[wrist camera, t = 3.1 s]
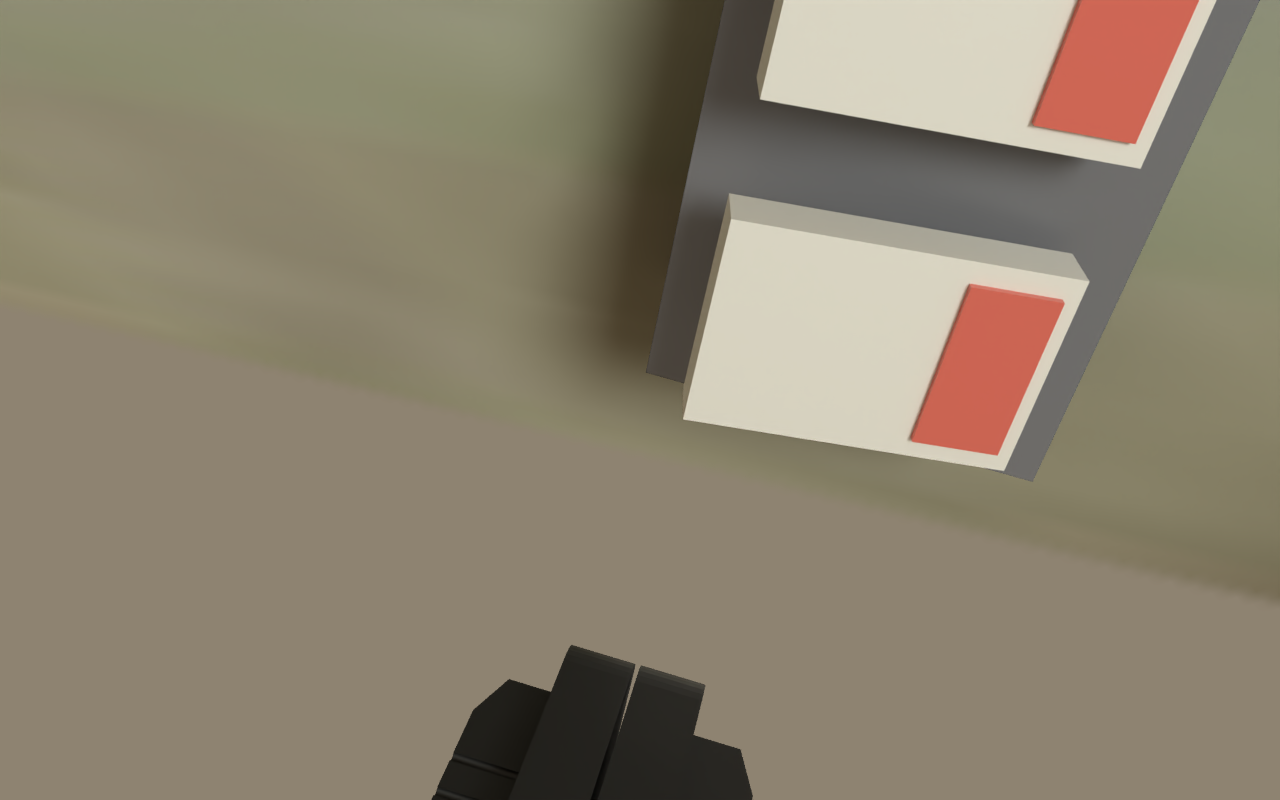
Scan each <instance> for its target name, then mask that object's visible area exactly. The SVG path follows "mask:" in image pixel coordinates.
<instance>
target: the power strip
mask: <svg viewBox="0 0 1280 800" xmlns="http://www.w3.org/2000/svg"><path fill="white" fill-rule="evenodd" d="M774 1H775V0H725V1H724V6H723V11H722V15H721V20H720V25H719V30H718V34H717V39H716V44H715V49H714V53H713V58H712V63H711V67H710V72H709V77H708V82H707V86H706V91H705V96H704V100H703V105H702V110H701V115H700V119H699V124H698V129H697V134H696V138H695V143H694V148H693V152H692V157H691V162H690V167H689V171H688V176H687V181H686V185H685V190H684V195H683V200H682V204H681V209H680V214H679V219H678V223H677V228H676V233H675V237H674V242H673V247H672V252H671V256H670V261H669V266H668V270H667V275H666V280H665V285H664V289H663V294H662V299H661V304H660V308H659V313H658V318H657V322H656V327H655V332H654V337H653V341H652V346H651V351H650V355H649V360H648V365H647V370H646V373H650V374H653V375H657V376H660V377H664V378H667V379H671V380H674V381H678V382H681V383H684V382H685V378H686V374H687V369H688V365H689V361H690V357H691V352H692V348H693V344H694V340H695V336H696V331H697V327H698V323H699V319H700V314H701V310H702V306H703V302H704V297H705V293H706V289H707V285H708V280H709V276H710V272H711V268H712V263H713V259H714V255H715V251H716V247H717V242H718V238H719V234H720V230H721V225H722V221H723V217H724V213H725V208H726V204H727V200H728V196H729V193H730V194H736V195H742V196H748V197H753V198H759V199H765V200H770V201H776V202H782V203H787V204H793V205H799V206H804V207H810V208H816V209H821V210H827V211H833V212H838V213H844V214H850V215H855V216H861V217H867V218H873V219H878V220H884V221H890V222H895V223H901V224H907V225H912V226H918V227H924V228H929V229H935V230H941V231H946V232H952V233H958V234H963V235H969V236H975V237H980V238H986V239H992V240H998V241H1003V242H1009V243H1015V244H1020V245H1026V246H1032V247H1037V248H1043V249H1049V250H1054V251H1060V252H1066V253H1071V254H1073V255H1074V257H1075V259H1076V260H1077V262H1078V264H1079V265H1080V267H1081V268H1082V270H1083V272H1084V273H1085V275H1086V277H1087V278H1088V280H1089V281H1090V282H1089V284H1088V286H1087V288H1086V291H1085V293H1084V295H1083V297H1082V300H1081V302H1080V304H1079V306H1078V308H1077V311H1076V313H1075V315H1074V317H1073V319H1072V322H1071V324H1070V326H1069V328H1068V331H1067V333H1066V335H1065V337H1064V339H1063V342H1062V344H1061V346H1060V348H1059V351H1058V353H1057V355H1056V357H1055V359H1054V362H1053V364H1052V366H1051V368H1050V370H1049V373H1048V375H1047V377H1046V379H1045V382H1044V384H1043V386H1042V388H1041V390H1040V393H1039V395H1038V397H1037V399H1036V401H1035V404H1034V406H1033V408H1032V410H1031V413H1030V415H1029V417H1028V419H1027V421H1026V424H1025V426H1024V428H1023V430H1022V433H1021V435H1020V437H1019V439H1018V441H1017V444H1016V446H1015V448H1014V450H1013V452H1012V455H1011V457H1010V459H1009V461H1008V464H1007V466H1006V468H1005V470H1004V471H1001V470H995V469H989V470H993V471H996V472H1000V473H1003V474H1007V475H1010V476H1014V477H1018V478H1021V479H1025V480H1028V481H1032V482H1033V480H1034V477H1035V475H1036V473H1037V471H1038V469H1039V467H1040V465H1041V463H1042V460H1043V458H1044V456H1045V454H1046V452H1047V450H1048V448H1049V446H1050V444H1051V441H1052V439H1053V437H1054V435H1055V433H1056V431H1057V429H1058V427H1059V424H1060V422H1061V420H1062V418H1063V416H1064V414H1065V412H1066V410H1067V408H1068V405H1069V403H1070V401H1071V399H1072V397H1073V395H1074V393H1075V391H1076V388H1077V386H1078V384H1079V382H1080V380H1081V378H1082V376H1083V374H1084V372H1085V369H1086V367H1087V365H1088V363H1089V361H1090V359H1091V357H1092V355H1093V352H1094V350H1095V348H1096V346H1097V344H1098V342H1099V340H1100V338H1101V336H1102V333H1103V331H1104V329H1105V327H1106V325H1107V323H1108V321H1109V319H1110V316H1111V314H1112V312H1113V310H1114V308H1115V306H1116V304H1117V302H1118V300H1119V297H1120V295H1121V293H1122V291H1123V289H1124V287H1125V285H1126V283H1127V280H1128V278H1129V276H1130V274H1131V272H1132V270H1133V268H1134V266H1135V264H1136V261H1137V259H1138V257H1139V255H1140V253H1141V251H1142V249H1143V247H1144V244H1145V242H1146V240H1147V238H1148V236H1149V234H1150V232H1151V230H1152V228H1153V225H1154V223H1155V221H1156V219H1157V217H1158V215H1159V213H1160V211H1161V209H1162V206H1163V204H1164V202H1165V200H1166V198H1167V196H1168V194H1169V192H1170V189H1171V187H1172V185H1173V183H1174V181H1175V179H1176V177H1177V175H1178V173H1179V170H1180V168H1181V166H1182V164H1183V162H1184V160H1185V158H1186V156H1187V153H1188V151H1189V149H1190V147H1191V145H1192V143H1193V141H1194V139H1195V137H1196V134H1197V132H1198V130H1199V128H1200V126H1201V124H1202V122H1203V120H1204V117H1205V115H1206V113H1207V111H1208V109H1209V107H1210V105H1211V103H1212V101H1213V98H1214V96H1215V94H1216V92H1217V90H1218V88H1219V86H1220V84H1221V81H1222V79H1223V77H1224V75H1225V73H1226V71H1227V69H1228V67H1229V65H1230V62H1231V60H1232V58H1233V56H1234V54H1235V52H1236V50H1237V48H1238V45H1239V43H1240V41H1241V39H1242V37H1243V35H1244V33H1245V31H1246V29H1247V26H1248V24H1249V22H1250V20H1251V18H1252V16H1253V14H1254V12H1255V9H1256V7H1257V5H1258V3H1259V1H1260V0H1216V3H1215V5H1214V7H1213V9H1212V11H1211V14H1210V16H1209V18H1208V20H1207V23H1206V25H1205V27H1204V29H1203V31H1202V34H1201V36H1200V38H1199V40H1198V42H1197V45H1196V47H1195V49H1194V51H1193V54H1192V56H1191V58H1190V60H1189V62H1188V65H1187V67H1186V69H1185V71H1184V73H1183V76H1182V78H1181V80H1180V82H1179V85H1178V87H1177V89H1176V91H1175V93H1174V96H1173V98H1172V100H1171V102H1170V105H1169V107H1168V109H1167V111H1166V113H1165V116H1164V118H1163V120H1162V122H1161V124H1160V127H1159V129H1158V131H1157V133H1156V136H1155V138H1154V140H1153V142H1152V144H1151V147H1150V149H1149V151H1148V153H1147V155H1146V158H1145V160H1144V162H1143V164H1142V167H1141V169H1139V168H1134V167H1128V166H1123V165H1117V164H1112V163H1106V162H1101V161H1095V160H1090V159H1084V158H1079V157H1073V156H1068V155H1062V154H1057V153H1051V152H1046V151H1040V150H1035V149H1029V148H1024V147H1018V146H1013V145H1007V144H1002V143H997V142H991V141H986V140H980V139H975V138H969V137H964V136H958V135H953V134H947V133H942V132H936V131H931V130H925V129H920V128H914V127H909V126H903V125H898V124H892V123H887V122H881V121H876V120H870V119H865V118H859V117H854V116H848V115H843V114H837V113H832V112H827V111H821V110H816V109H810V108H805V107H799V106H794V105H788V104H783V103H777V102H772V101H766V100H761V99H760V97H759V90H758V84H757V78H756V77H757V73H758V69H759V64H760V60H761V56H762V52H763V47H764V43H765V39H766V35H767V31H768V26H769V22H770V18H771V14H772V9H773V5H774ZM986 469H988V468H986Z"/></svg>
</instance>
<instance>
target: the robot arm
mask: <svg viewBox="0 0 1280 800" xmlns="http://www.w3.org/2000/svg"><path fill="white" fill-rule="evenodd" d="M634 669H635V664H633V663H630V662H627V661H623V660H620V659H617V658H613V657H610V656H607V655H603V654H600V653H596V652H593V651H590V650H587V649H583V648H580V647H577V646H573V645H571V646H570V648H569V650H568V652H567V654H566V656H565V658H564V661H563V663H562V666H561V669H560V671H559V674H558V676H557V679H556V681H555V683H554V686H553V688H552V691H551V692H549V691H546V690H543V689H539V688H536V687H533V686H530V685H526V684H523V683H520V682H517V681H513V680H510V679H509V680H507V681H506V682H505V683H504V684H503V685H502V686H501V687H499V688H498V689H497V690H496V691H495V692H494V693H493V694H491V695H490V696H489V697H488V698H487V699H485V700H484V701H483V702H482V703H481V704H480V705H479V706H477V707H476V708H475V709H474V710H473V712H472V714H471V716H470V718H469V720H468V723H467V725H466V727H465V729H464V731H463V733H462V735H461V738H460V740H459V742H458V744H457V746H456V748H455V751H454V754H453V757H452V759H451V760H450V761H449V763H448V765H447V768H446V770H445V772H444V774H443V776H442V778H441V780H440V783H439V785H438V788H437V791H436V794H435V796H433V798H432V800H752V797H753V795H752V792H751V788H750V784H749V780H748V776H747V773H746V769H745V765H744V761H743V757H742V754H741V750H740V749H737V748H734V747H731V746H727V745H724V744H721V743H718V742H714V741H711V740H708V739H704V738H701V737H698V736H695V735H693V734H694V730H695V726H696V722H697V718H698V714H699V710H700V706H701V702H702V697H703V693H704V689H705V685H704V684H701V683H698V682H694V681H691V680H688V679H684V678H681V677H678V676H675V675H671V674H668V673H664V672H661V671H658V670H654V669H651V668H648V667H645V666H641V667H640V669H639V672H638V675H637V678H636V681H635V684H634V687H633V691H632V694H631V697H630V700H629V703H628V706H627V710H626V713H625V716H624V719H623V722H622V718H623V714H624V710H625V706H626V702H627V697H628V694H629V690H630V686H631V682H632V677H633V673H634ZM621 722H622V725H621ZM620 726H621V728H620ZM619 730H620V732H619ZM618 734H619V735H618Z"/></svg>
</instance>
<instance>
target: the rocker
mask: <svg viewBox="0 0 1280 800" xmlns="http://www.w3.org/2000/svg"><path fill="white" fill-rule="evenodd" d="M1089 282H1090V281H1089V280H1088V278H1087V277H1086V275H1085V273H1084V272H1083V270H1082V268H1081V267H1080V265H1079V264H1078V262H1077V260H1076V259H1075V257H1074V255H1073V254H1071V253H1066V252H1060V251H1054V250H1049V249H1043V248H1037V247H1032V246H1026V245H1020V244H1015V243H1009V242H1003V241H998V240H992V239H986V238H980V237H975V236H969V235H963V234H958V233H952V232H946V231H941V230H935V229H929V228H924V227H918V226H912V225H907V224H901V223H895V222H890V221H884V220H878V219H873V218H867V217H861V216H855V215H850V214H844V213H838V212H833V211H827V210H821V209H816V208H810V207H804V206H799V205H793V204H787V203H782V202H776V201H770V200H765V199H759V198H753V197H748V196H742V195H736V194H730V193H729V196H728V200H727V204H726V208H725V213H724V217H723V221H722V225H721V230H720V234H719V238H718V242H717V247H716V251H715V255H714V259H713V263H712V268H711V272H710V276H709V280H708V285H707V289H706V293H705V297H704V302H703V306H702V310H701V314H700V319H699V323H698V327H697V331H696V336H695V340H694V344H693V348H692V352H691V357H690V361H689V365H688V369H687V374H686V378H685V382H684V386H683V419H684V420H690V421H697V422H703V423H709V424H715V425H722V426H728V427H734V428H740V429H746V430H753V431H759V432H765V433H771V434H777V435H784V436H790V437H796V438H802V439H808V440H815V441H821V442H827V443H833V444H839V445H846V446H852V447H858V448H864V449H870V450H877V451H883V452H889V453H895V454H901V455H908V456H914V457H920V458H926V459H933V460H939V461H945V462H951V463H957V464H964V465H970V466H976V467H982V468H988V469H995V470H1001V471H1004V470H1005V468H1006V466H1007V464H1008V461H1009V459H1010V457H1011V455H1012V452H1013V450H1014V448H1015V446H1016V444H1017V441H1018V439H1019V437H1020V435H1021V433H1022V430H1023V428H1024V426H1025V424H1026V421H1027V419H1028V417H1029V415H1030V413H1031V410H1032V408H1033V406H1034V404H1035V401H1036V399H1037V397H1038V395H1039V393H1040V390H1041V388H1042V386H1043V384H1044V382H1045V379H1046V377H1047V375H1048V373H1049V370H1050V368H1051V366H1052V364H1053V362H1054V359H1055V357H1056V355H1057V353H1058V351H1059V348H1060V346H1061V344H1062V342H1063V339H1064V337H1065V335H1066V333H1067V331H1068V328H1069V326H1070V324H1071V322H1072V319H1073V317H1074V315H1075V313H1076V311H1077V308H1078V306H1079V304H1080V302H1081V300H1082V297H1083V295H1084V293H1085V291H1086V288H1087V286H1088V284H1089Z"/></svg>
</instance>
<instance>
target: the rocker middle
mask: <svg viewBox="0 0 1280 800" xmlns="http://www.w3.org/2000/svg"><path fill="white" fill-rule="evenodd" d="M1215 3H1216V0H775V1H774V5H773V9H772V14H771V18H770V22H769V26H768V31H767V35H766V39H765V43H764V47H763V52H762V56H761V60H760V64H759V69H758V73H757V77H756V78H757V84H758V90H759V97H760V99H761V100H766V101H772V102H777V103H783V104H788V105H794V106H799V107H805V108H810V109H816V110H821V111H827V112H832V113H837V114H843V115H848V116H854V117H859V118H865V119H870V120H876V121H881V122H887V123H892V124H898V125H903V126H909V127H914V128H920V129H925V130H931V131H936V132H942V133H947V134H953V135H958V136H964V137H969V138H975V139H980V140H986V141H991V142H997V143H1002V144H1007V145H1013V146H1018V147H1024V148H1029V149H1035V150H1040V151H1046V152H1051V153H1057V154H1062V155H1068V156H1073V157H1079V158H1084V159H1090V160H1095V161H1101V162H1106V163H1112V164H1117V165H1123V166H1128V167H1134V168H1139V169H1141V167H1142V164H1143V162H1144V160H1145V158H1146V155H1147V153H1148V151H1149V149H1150V147H1151V144H1152V142H1153V140H1154V138H1155V136H1156V133H1157V131H1158V129H1159V127H1160V124H1161V122H1162V120H1163V118H1164V116H1165V113H1166V111H1167V109H1168V107H1169V105H1170V102H1171V100H1172V98H1173V96H1174V93H1175V91H1176V89H1177V87H1178V85H1179V82H1180V80H1181V78H1182V76H1183V73H1184V71H1185V69H1186V67H1187V65H1188V62H1189V60H1190V58H1191V56H1192V54H1193V51H1194V49H1195V47H1196V45H1197V42H1198V40H1199V38H1200V36H1201V34H1202V31H1203V29H1204V27H1205V25H1206V23H1207V20H1208V18H1209V16H1210V14H1211V11H1212V9H1213V7H1214V5H1215Z"/></svg>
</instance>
